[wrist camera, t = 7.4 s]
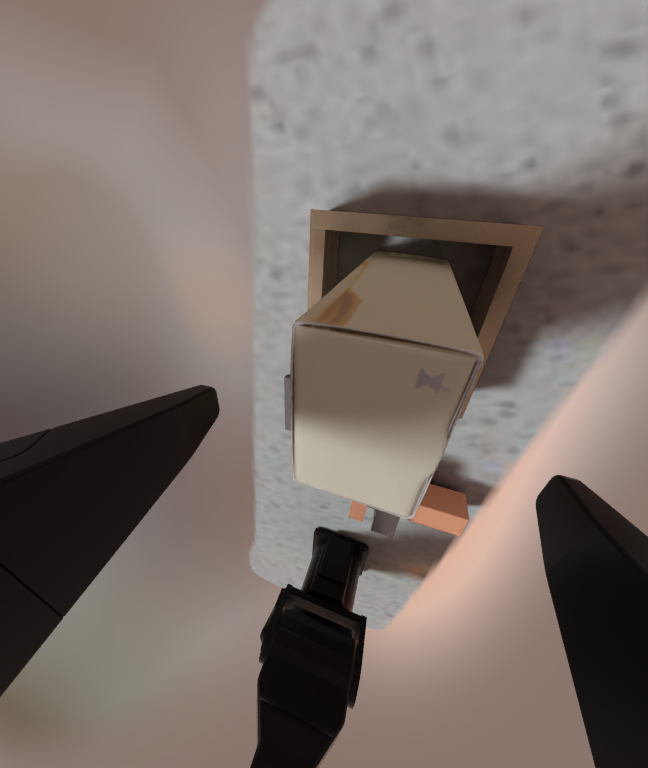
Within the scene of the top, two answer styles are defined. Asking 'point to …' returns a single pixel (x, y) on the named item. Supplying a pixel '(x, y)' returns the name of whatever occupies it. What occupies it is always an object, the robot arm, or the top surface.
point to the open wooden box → (509, 238)
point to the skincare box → (381, 381)
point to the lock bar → (433, 510)
